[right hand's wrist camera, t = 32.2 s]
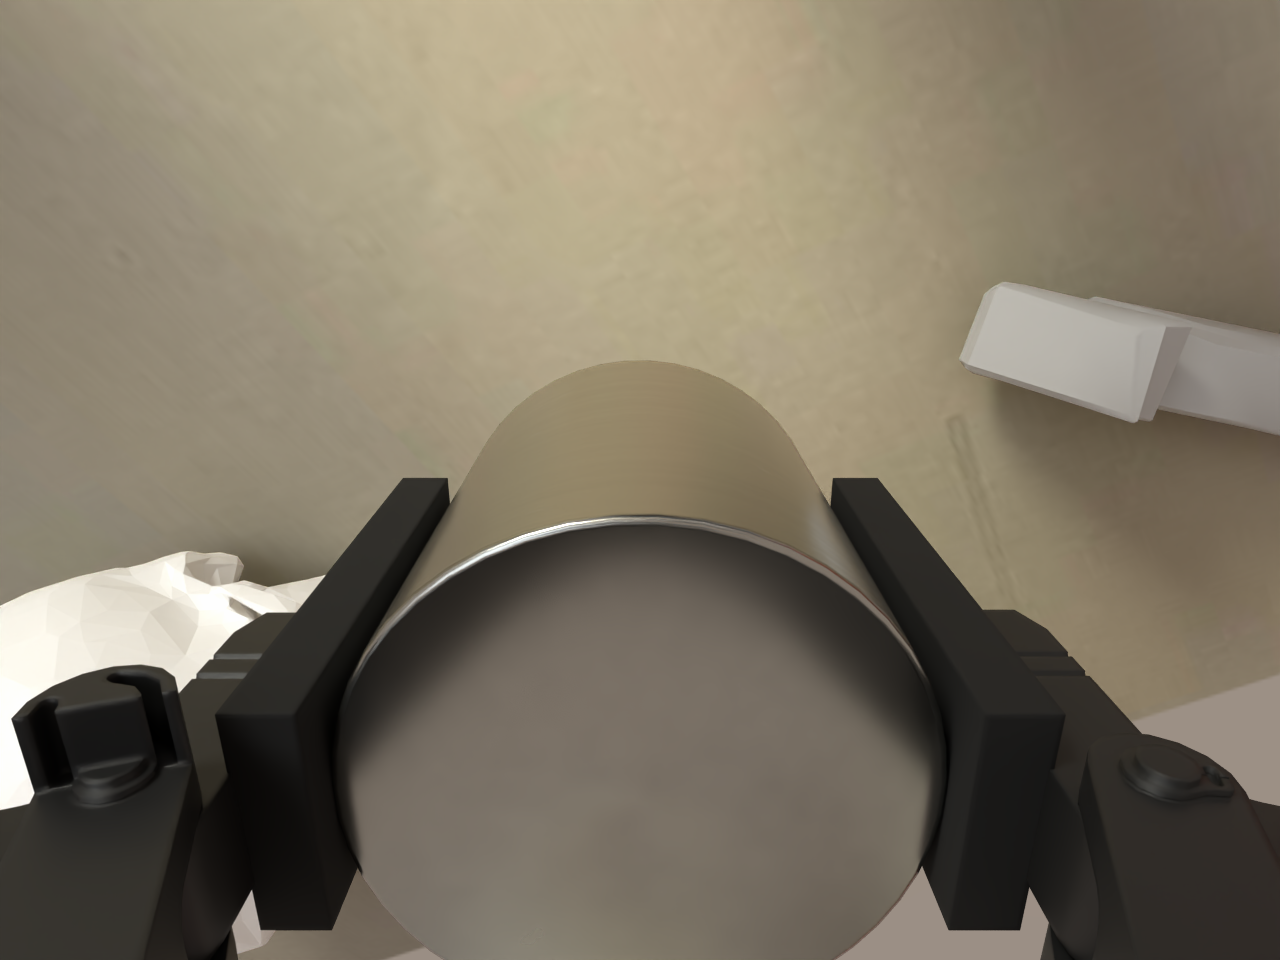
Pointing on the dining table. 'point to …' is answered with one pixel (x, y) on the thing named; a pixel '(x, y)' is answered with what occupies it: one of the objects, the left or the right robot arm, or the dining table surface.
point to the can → (639, 697)
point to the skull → (128, 644)
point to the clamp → (1126, 357)
